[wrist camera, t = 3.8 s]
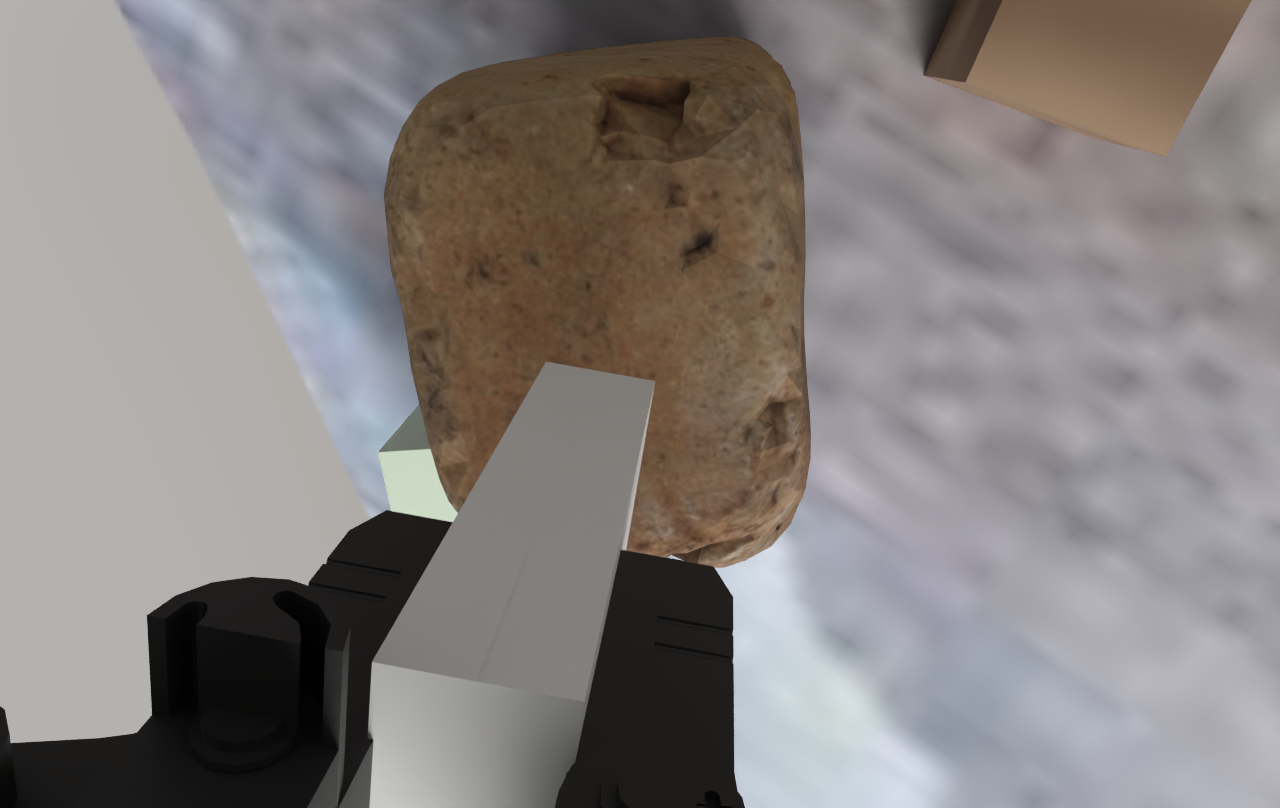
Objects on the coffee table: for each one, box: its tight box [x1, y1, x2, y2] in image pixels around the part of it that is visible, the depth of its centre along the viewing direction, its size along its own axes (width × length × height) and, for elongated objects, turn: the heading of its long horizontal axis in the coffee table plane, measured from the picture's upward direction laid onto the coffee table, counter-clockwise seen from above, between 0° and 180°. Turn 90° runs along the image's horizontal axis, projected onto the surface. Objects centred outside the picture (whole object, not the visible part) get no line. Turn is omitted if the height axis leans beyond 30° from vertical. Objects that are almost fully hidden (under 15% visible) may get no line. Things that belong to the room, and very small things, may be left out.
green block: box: [378, 404, 458, 522], centre depth 33 cm, size 6×6×8 cm
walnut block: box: [924, 0, 1251, 157], centre depth 27 cm, size 6×6×6 cm
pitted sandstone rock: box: [384, 37, 811, 568], centre depth 24 cm, size 11×8×20 cm
